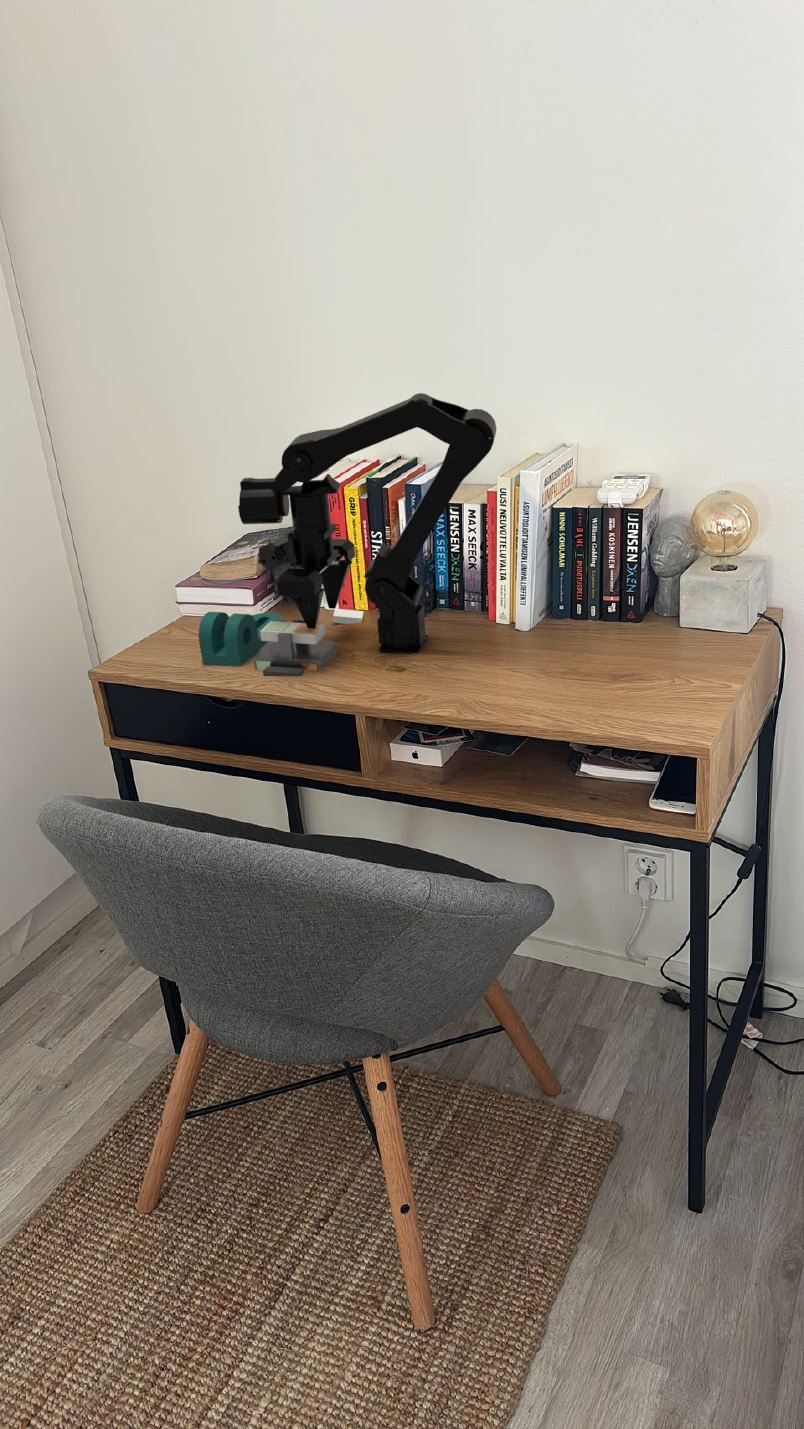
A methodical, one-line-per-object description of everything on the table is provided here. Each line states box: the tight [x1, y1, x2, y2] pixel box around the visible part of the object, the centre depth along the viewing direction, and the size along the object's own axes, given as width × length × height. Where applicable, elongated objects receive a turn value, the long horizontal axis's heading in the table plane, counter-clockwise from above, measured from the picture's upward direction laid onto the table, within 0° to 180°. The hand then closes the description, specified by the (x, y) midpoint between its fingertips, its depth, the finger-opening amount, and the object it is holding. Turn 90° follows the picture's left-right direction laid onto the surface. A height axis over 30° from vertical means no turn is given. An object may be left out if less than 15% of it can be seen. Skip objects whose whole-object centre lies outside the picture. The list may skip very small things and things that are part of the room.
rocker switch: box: [260, 621, 326, 644], centre depth 177 cm, size 9×5×2 cm, turn 72°
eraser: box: [332, 608, 364, 625], centre depth 195 cm, size 1×5×4 cm
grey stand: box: [252, 617, 338, 672], centre depth 178 cm, size 11×7×7 cm, turn 72°
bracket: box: [198, 611, 284, 667], centre depth 188 cm, size 18×7×8 cm, turn 159°
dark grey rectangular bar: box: [262, 666, 305, 677], centre depth 175 cm, size 6×2×2 cm, turn 73°
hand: (322, 618), depth 180 cm, fingers open, 8 cm apart
